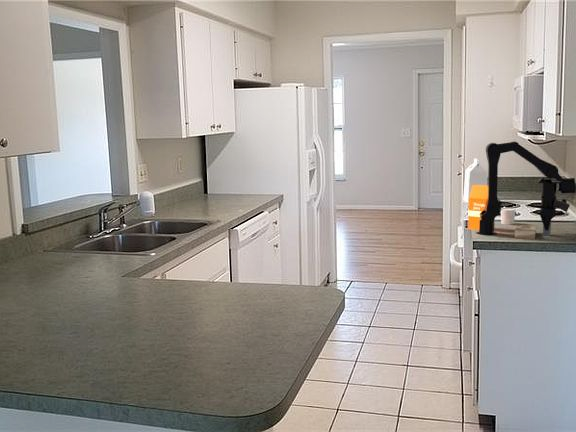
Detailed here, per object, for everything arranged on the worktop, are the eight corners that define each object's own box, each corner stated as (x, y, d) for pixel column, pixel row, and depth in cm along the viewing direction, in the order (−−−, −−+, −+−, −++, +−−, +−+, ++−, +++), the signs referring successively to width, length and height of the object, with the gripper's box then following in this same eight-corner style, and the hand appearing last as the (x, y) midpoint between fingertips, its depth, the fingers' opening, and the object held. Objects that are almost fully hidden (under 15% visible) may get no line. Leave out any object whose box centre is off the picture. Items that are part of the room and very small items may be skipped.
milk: (487, 203, 376) (489, 159, 372) (468, 203, 376) (469, 159, 372) (481, 200, 388) (483, 158, 384) (463, 200, 388) (464, 158, 384)
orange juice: (474, 226, 298) (476, 184, 294) (492, 228, 292) (494, 185, 289) (467, 228, 292) (469, 185, 288) (486, 230, 286) (487, 186, 283)
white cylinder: (503, 222, 309) (503, 207, 308) (517, 223, 305) (517, 209, 303) (497, 223, 304) (498, 209, 303) (512, 225, 299) (512, 210, 298)
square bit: (550, 236, 272) (551, 218, 271) (542, 235, 273) (543, 218, 272) (550, 234, 275) (551, 217, 273) (542, 234, 276) (543, 217, 275)
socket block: (534, 239, 265) (535, 232, 264) (514, 238, 268) (514, 231, 268) (535, 232, 280) (536, 226, 279) (516, 231, 283) (516, 225, 282)
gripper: (569, 196, 259) (567, 234, 262) (568, 191, 276) (566, 226, 279) (540, 195, 264) (538, 232, 266) (541, 190, 281) (539, 225, 283)
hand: (546, 229), depth 273 cm, fingers open, 6 cm apart
